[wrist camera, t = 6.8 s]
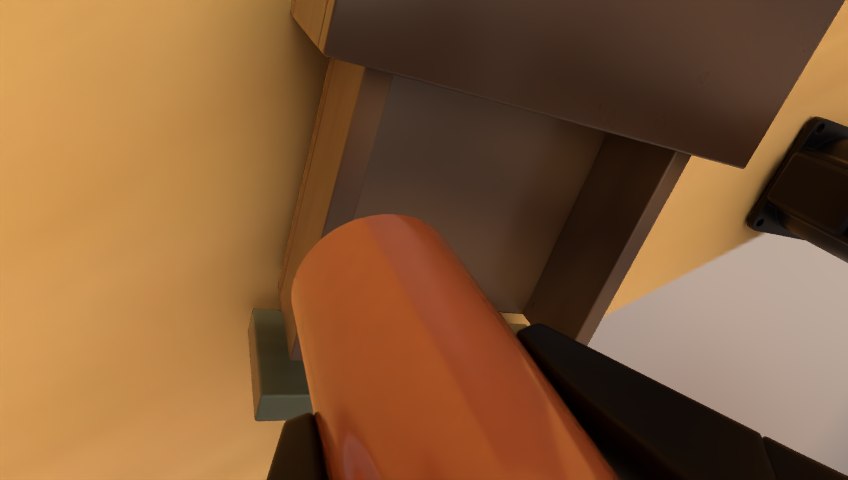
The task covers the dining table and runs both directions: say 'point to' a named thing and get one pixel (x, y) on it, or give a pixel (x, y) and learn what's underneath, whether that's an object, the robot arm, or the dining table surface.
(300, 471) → the robot arm
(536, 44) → the cabinet
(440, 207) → the drawer
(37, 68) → the dining table surface
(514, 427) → the spice jar
